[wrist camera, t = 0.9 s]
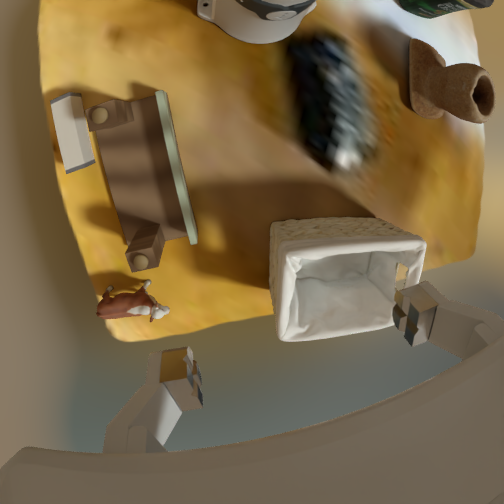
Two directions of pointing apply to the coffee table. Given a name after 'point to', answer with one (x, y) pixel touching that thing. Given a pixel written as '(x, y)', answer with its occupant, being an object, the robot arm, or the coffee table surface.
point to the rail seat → (144, 175)
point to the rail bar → (72, 132)
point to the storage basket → (338, 275)
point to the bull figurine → (130, 305)
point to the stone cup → (448, 86)
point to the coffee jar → (441, 6)
